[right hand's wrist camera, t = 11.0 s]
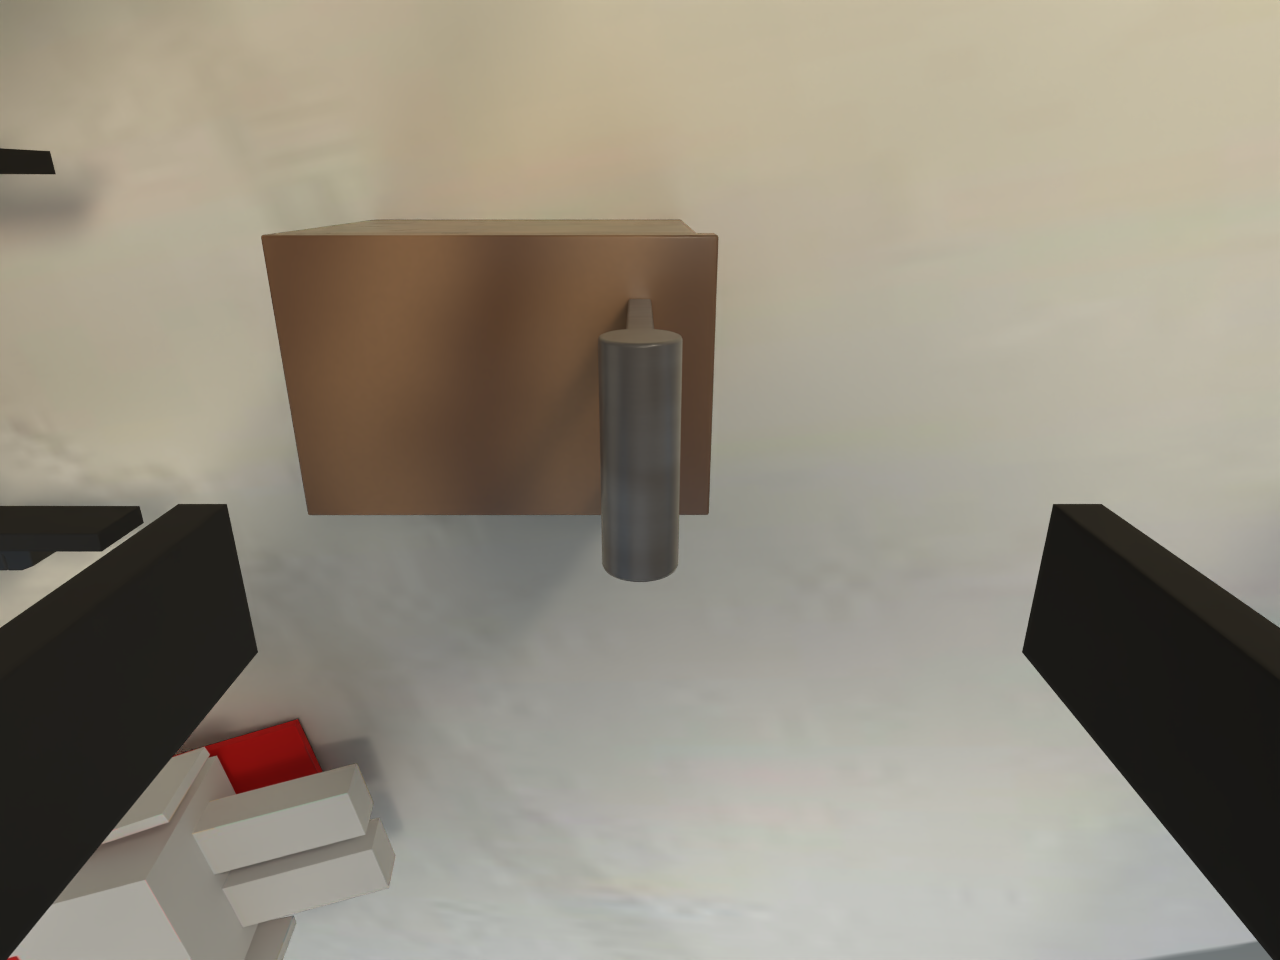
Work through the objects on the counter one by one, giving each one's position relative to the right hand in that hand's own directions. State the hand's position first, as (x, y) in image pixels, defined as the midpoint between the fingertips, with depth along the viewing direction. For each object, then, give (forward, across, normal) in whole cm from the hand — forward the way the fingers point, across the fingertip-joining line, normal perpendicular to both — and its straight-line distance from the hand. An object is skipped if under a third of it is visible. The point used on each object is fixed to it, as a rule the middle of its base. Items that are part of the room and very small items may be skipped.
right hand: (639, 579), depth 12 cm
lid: (+14, -5, 0) cm, 15 cm away
